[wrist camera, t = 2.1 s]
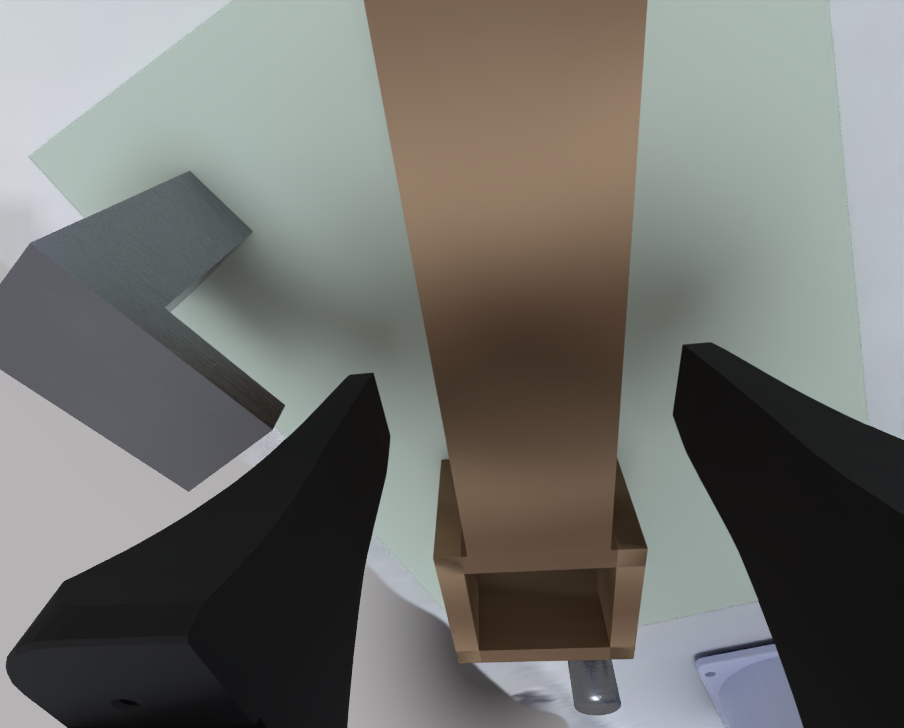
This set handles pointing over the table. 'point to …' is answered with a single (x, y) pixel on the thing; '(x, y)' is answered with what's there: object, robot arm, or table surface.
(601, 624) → the link
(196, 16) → the table surface
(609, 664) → the cylinder
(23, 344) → the keeper
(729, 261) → the board
